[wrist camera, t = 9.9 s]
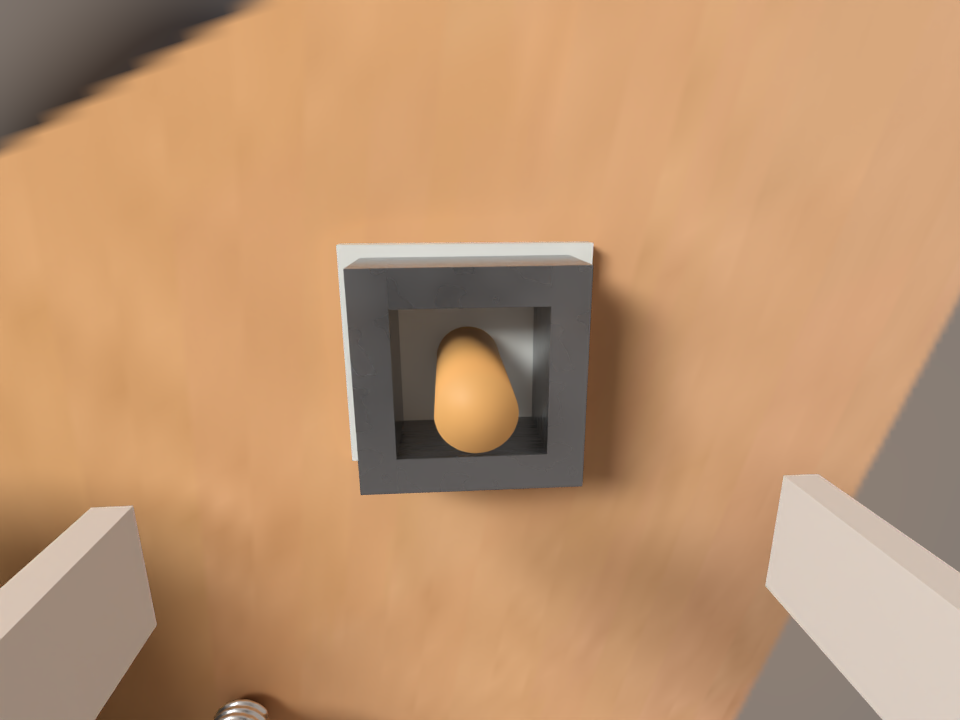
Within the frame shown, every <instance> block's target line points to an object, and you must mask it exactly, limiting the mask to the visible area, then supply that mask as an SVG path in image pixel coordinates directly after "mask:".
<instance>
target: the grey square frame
mask: <svg viewBox="0 0 960 720" xmlns="http://www.w3.org/2000/svg"><path fill="white" fill-rule="evenodd" d="M343 273H344V286H345V299H346V312H347V325H348V338H349V351H350V363H351V376H352V389H353V402H354V415H355V428H356V440H357V453H358V466H359V479H360V492H361V495H373V494H398V493H424V492H449V491H474V490H499V489H524V488H550V487H575V486H582V483H583V463H584V442H585V422H586V402H587V382H588V362H589V341H590V321H591V301H592V281H593V265H592V264H590V263H587V262H585V261H583V260H580V259H578V258H575V257H573V256H571V255H525V256H455V257H385V258H359V259H357V260H356V261H354V262H353V263H351V264H350V265H348V266H347V267H345V268H344V269H343ZM501 307H534V324H533V375H532V417H518V422H517V425H516V428H515V430H514V432H513V433H512V435H511V436H510V438H509V439H508V440H507V441H506V442H504V443H503V444H502V445H501V446H499V447H497V448H495V449H493V450H490V451H488V452H483V453H468V452H464V451H460V450H458V449H456V448H454V447H452V446H451V445H449V444H448V443H447V442H446V441H445V440H444V439H443V438H442V437H441V435H440V434H439V432H438V430H437V427H436V425H435V420H408V421H404V416H403V397H402V377H401V357H400V338H399V318H398V310H400V309H451V308H501Z"/></svg>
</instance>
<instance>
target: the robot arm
mask: <svg viewBox="0 0 960 720" xmlns="http://www.w3.org/2000/svg"><path fill="white" fill-rule="evenodd" d="M765 586H766V587H767V589H768V590H769V591H770V592H771V593H772V594H773V595H774V596H775V598H776V599H777V600H778V601H779V602H780V603H781V604H782V606H783V607H784V608H785V609H786V610H787V611H788V612H789V614H790V615H791V616H792V617H793V618H794V619H795V620H796V622H797V623H798V624H799V625H800V626H801V627H802V628H803V629H804V631H806V633H807V634H808V635H809V636H810V638H811V639H812V640H813V641H814V642H815V643H816V644H817V645H818V647H819V648H820V649H821V650H822V651H823V652H824V653H825V655H826V656H827V657H828V658H829V659H830V660H831V661H832V663H833V664H834V665H835V666H836V667H837V668H838V669H839V671H840V672H841V673H842V674H843V675H844V676H845V677H846V679H847V680H848V681H849V682H850V683H851V684H852V685H853V686H854V688H855V689H856V690H857V691H858V692H859V693H860V695H861V696H862V697H863V698H864V699H865V700H866V701H867V702H868V703H869V705H870V706H871V707H872V708H873V709H874V710H875V712H876V713H877V714H878V715H879V716H880V717H881V718H882V720H960V572H958V571H957V570H955V569H954V568H952V567H951V566H949V565H948V564H947V563H945V562H944V561H942V560H941V559H939V558H938V557H937V556H935V555H934V554H932V553H931V552H929V551H928V550H927V549H925V548H924V547H922V546H921V545H919V544H918V543H916V542H915V541H913V540H912V539H911V538H909V537H908V536H906V535H905V534H903V533H902V532H901V531H899V530H898V529H896V528H895V527H893V526H892V525H890V524H889V523H888V522H886V521H885V520H883V519H882V518H880V517H879V516H878V515H876V514H875V513H873V512H872V511H870V510H869V509H868V508H866V507H865V506H863V505H862V504H860V503H859V502H857V501H856V500H855V499H853V498H852V497H850V496H849V495H847V494H846V493H845V492H843V491H842V490H840V489H839V488H837V487H836V486H834V485H833V484H832V483H830V482H829V481H827V480H826V479H824V478H823V477H822V476H820V475H819V474H807V475H785V476H784V477H783V483H782V489H781V495H780V501H779V507H778V513H777V519H776V525H775V531H774V537H773V543H772V549H771V555H770V561H769V567H768V573H767V579H766V585H765ZM156 626H157V622H156V617H155V612H154V607H153V602H152V597H151V592H150V587H149V582H148V577H147V572H146V567H145V562H144V557H143V552H142V547H141V542H140V537H139V532H138V527H137V522H136V518H135V513H134V508H133V506H117V507H95V508H90V509H89V510H88V511H87V512H86V513H84V514H83V515H82V516H81V517H80V518H79V519H78V520H77V521H75V522H74V523H73V524H72V525H71V526H70V527H69V528H68V529H66V530H65V531H64V532H63V533H62V534H61V535H60V536H59V537H57V538H56V539H55V540H54V541H53V542H52V543H51V544H50V545H49V546H47V547H46V548H45V549H44V550H43V551H42V552H41V553H40V554H38V555H37V556H36V557H35V558H34V559H33V560H32V561H31V562H29V563H28V564H27V565H26V566H25V567H24V568H23V569H22V570H20V571H19V572H18V573H17V574H16V575H15V576H14V577H13V578H11V579H10V580H9V581H8V582H7V583H6V584H5V585H4V586H2V587H1V588H0V720H95V719H96V717H97V716H98V714H99V713H100V711H101V710H102V708H103V707H104V705H105V704H106V702H107V701H108V699H109V698H110V696H111V694H112V693H113V691H114V690H115V688H116V687H117V685H118V684H119V682H120V681H121V679H122V678H123V676H124V675H125V673H126V672H127V670H128V668H129V667H130V665H131V664H132V662H133V661H134V659H135V658H136V656H137V655H138V653H139V652H140V650H141V649H142V647H143V645H144V644H145V642H146V641H147V639H148V638H149V636H150V635H151V633H152V632H153V630H154V629H155V627H156Z"/></svg>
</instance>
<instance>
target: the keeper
mask: <svg viewBox="0 0 960 720" xmlns="http://www.w3.org/2000/svg"><path fill="white" fill-rule="evenodd" d="M336 249H337V262H338V275H339V289H340V302H341V315H342V329H343V342H344V355H345V369H346V382H347V395H348V409H349V422H350V435H351V449H352V461H358V453H357V440H356V428H355V415H354V402H353V389H352V376H351V363H350V351H349V338H348V325H347V312H346V299H345V286H344V273H343V269H344V268H345V267H347V266H348V265H350V264H351V263H353V262H354V261H356V260H357V259H359V258H385V257H455V256H525V255H571V256H573V257H575V258H578V259H580V260H583V261H585V262H587V263H590V264H592V261H593V243H591V242H456V243H340V244H338V245H336ZM398 318H399V338H400V357H401V377H402V397H403V416H404V421H408V420H435V425H436V427H437V430H438V432H439V434H440V435H441V437H442V438H443V439H444V440H445V441H446V442H447V443H448V444H449V445H451V446H452V447H454V448H456V449H458V450H460V451H464V452H468V453H483V452H488V451H490V450H493V449H495V448H497V447H499V446H501V445H502V444H503V443H504V442H506V441H507V440H508V439H509V438H510V436H511V435H512V433H513V432H514V430H515V428H516V425H517V422H518V417H532V375H533V324H534V307H501V308H451V309H400V310H398Z"/></svg>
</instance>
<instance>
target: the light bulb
mask: <svg viewBox="0 0 960 720" xmlns="http://www.w3.org/2000/svg"><path fill="white" fill-rule="evenodd" d="M268 719H269V715H268V711H267V709H266V708H265V707H263V706H262V705H261V704H260V703H257V702H255V701H252V700H249V699H237V700H233V701H230V702H228V703H226V704H225V705H224V706H222V707H221V708H220V709H218V711H217V713H216V715H215V716H214V720H268Z"/></svg>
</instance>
